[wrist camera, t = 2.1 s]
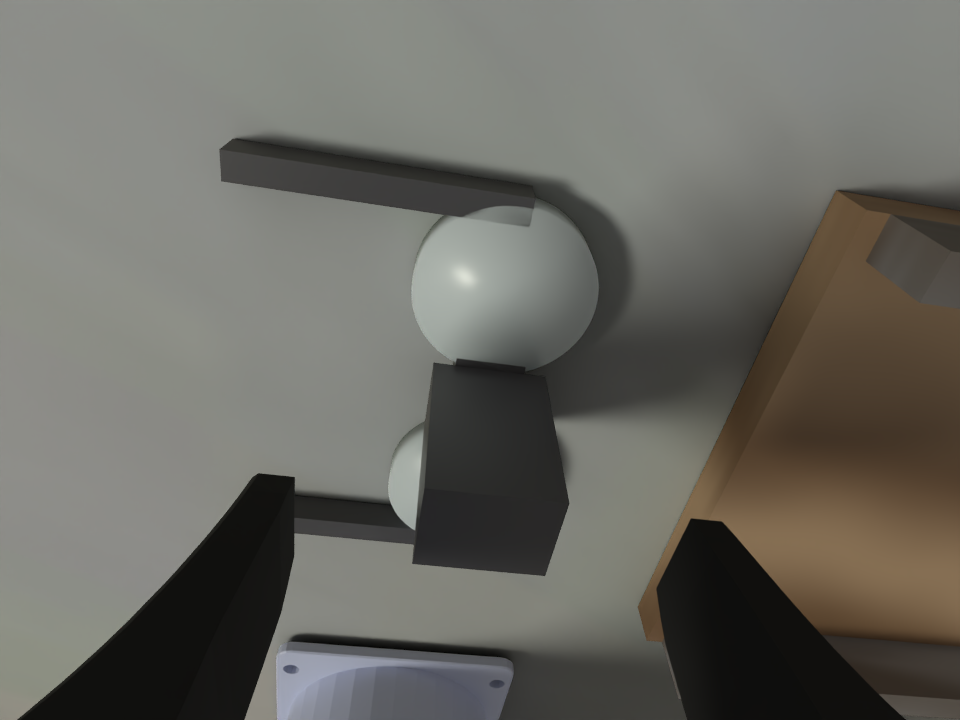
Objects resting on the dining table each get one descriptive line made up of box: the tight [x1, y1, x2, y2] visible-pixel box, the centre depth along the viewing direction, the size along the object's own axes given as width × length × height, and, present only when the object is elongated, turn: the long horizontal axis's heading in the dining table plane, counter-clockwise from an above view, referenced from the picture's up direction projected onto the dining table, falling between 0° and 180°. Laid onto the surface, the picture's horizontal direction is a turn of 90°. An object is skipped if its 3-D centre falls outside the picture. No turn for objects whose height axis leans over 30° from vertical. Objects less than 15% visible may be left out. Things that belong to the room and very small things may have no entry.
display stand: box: [638, 191, 960, 719], centre depth 16 cm, size 14×11×3 cm
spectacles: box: [220, 139, 599, 576], centre depth 13 cm, size 10×8×5 cm
